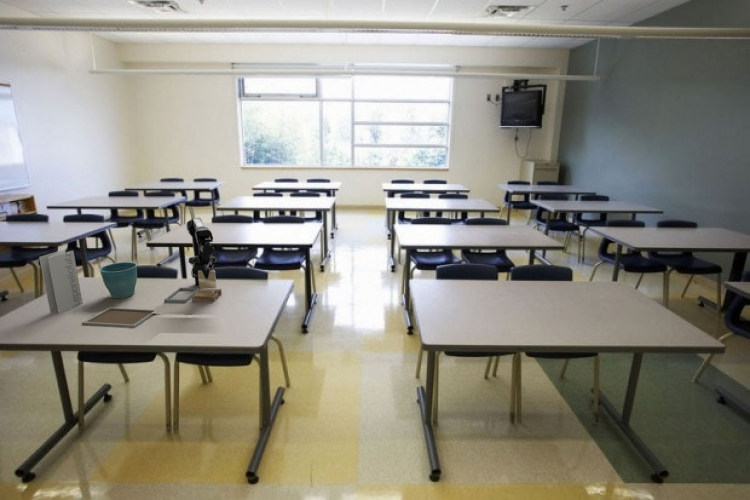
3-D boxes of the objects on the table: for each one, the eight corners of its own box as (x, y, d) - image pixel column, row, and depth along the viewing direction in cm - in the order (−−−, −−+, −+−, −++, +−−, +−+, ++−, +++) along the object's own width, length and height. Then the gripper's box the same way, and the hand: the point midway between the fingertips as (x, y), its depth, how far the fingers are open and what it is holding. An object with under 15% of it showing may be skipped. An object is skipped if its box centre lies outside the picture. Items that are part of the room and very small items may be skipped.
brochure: (59, 314, 217) (48, 257, 209) (50, 313, 218) (38, 257, 210) (82, 303, 231) (73, 250, 223) (74, 302, 232) (64, 249, 224)
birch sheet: (200, 287, 240) (198, 270, 237) (216, 287, 240) (215, 270, 237) (199, 288, 238) (197, 271, 235) (215, 288, 238) (214, 271, 236)
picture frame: (134, 325, 203) (76, 322, 206) (135, 328, 203) (77, 325, 206) (158, 309, 221) (104, 306, 224) (158, 312, 222) (105, 309, 225)
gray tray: (180, 292, 249) (179, 287, 248) (200, 292, 249) (199, 287, 248) (164, 304, 231) (164, 299, 230) (186, 304, 231) (185, 299, 230)
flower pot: (107, 303, 231) (102, 273, 227) (101, 294, 245) (96, 266, 240) (144, 295, 243) (140, 267, 239) (136, 287, 256) (132, 260, 252)
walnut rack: (201, 295, 244) (200, 288, 243) (221, 296, 244) (221, 288, 243) (192, 303, 232) (191, 296, 231) (214, 304, 232) (213, 296, 231)
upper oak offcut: (198, 294, 237) (198, 290, 236) (214, 294, 237) (214, 290, 236) (195, 296, 233) (195, 292, 232) (211, 296, 233) (211, 293, 232)
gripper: (196, 246, 242) (199, 272, 246) (182, 255, 224) (185, 283, 228) (216, 247, 242) (218, 273, 246) (203, 255, 224) (206, 283, 228)
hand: (207, 278), depth 237 cm, fingers closed on birch sheet, 1 cm apart
